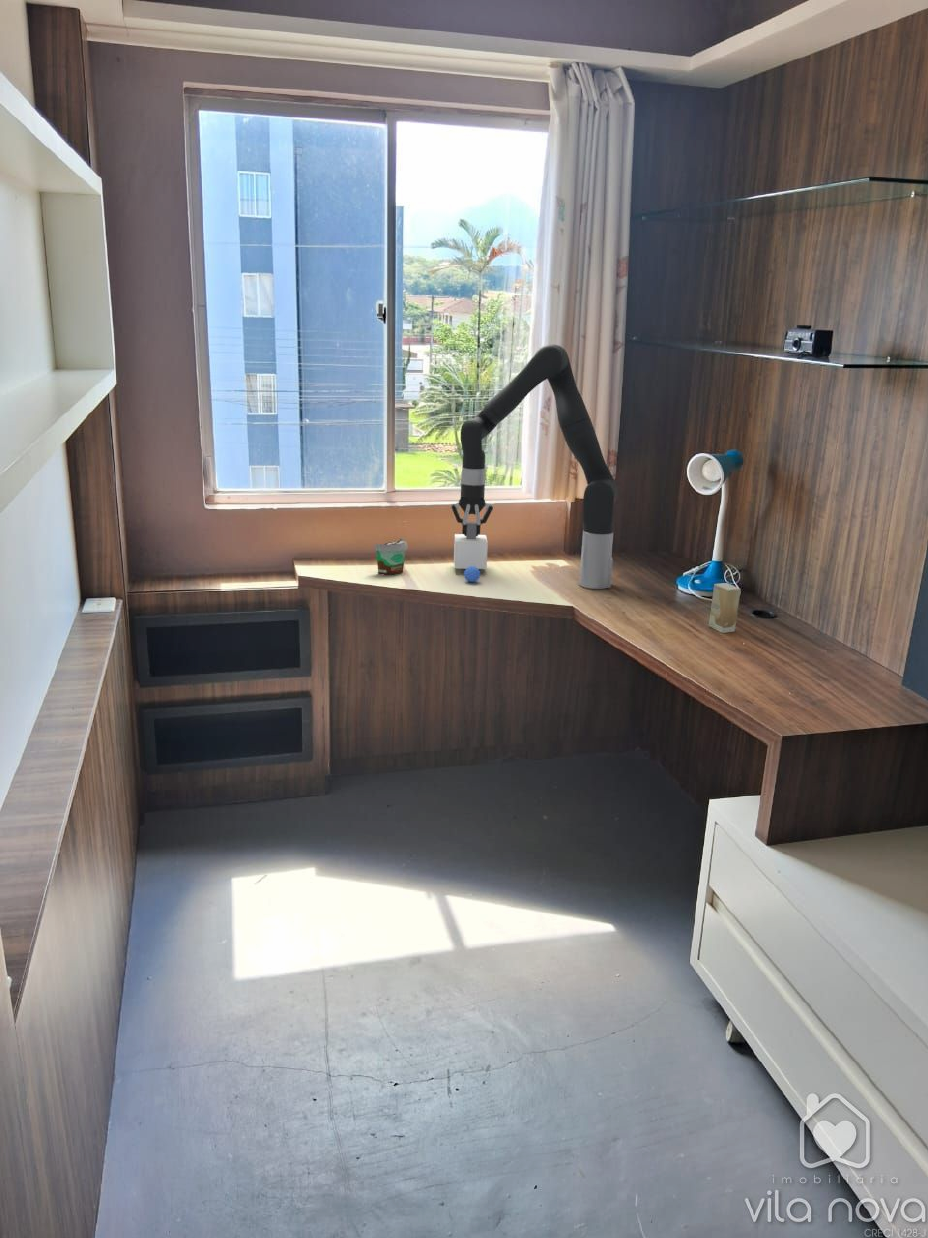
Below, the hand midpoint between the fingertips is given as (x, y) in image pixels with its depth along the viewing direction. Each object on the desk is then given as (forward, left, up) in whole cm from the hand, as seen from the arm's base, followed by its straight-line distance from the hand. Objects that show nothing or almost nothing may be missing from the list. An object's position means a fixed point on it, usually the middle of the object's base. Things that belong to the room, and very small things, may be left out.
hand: (471, 535), depth 304 cm
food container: (+24, +6, -12) cm, 27 cm away
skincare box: (-66, +57, -12) cm, 88 cm away
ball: (0, +15, -9) cm, 17 cm away
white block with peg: (0, 0, -10) cm, 10 cm away
